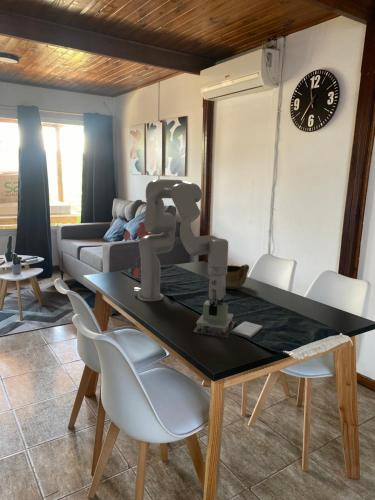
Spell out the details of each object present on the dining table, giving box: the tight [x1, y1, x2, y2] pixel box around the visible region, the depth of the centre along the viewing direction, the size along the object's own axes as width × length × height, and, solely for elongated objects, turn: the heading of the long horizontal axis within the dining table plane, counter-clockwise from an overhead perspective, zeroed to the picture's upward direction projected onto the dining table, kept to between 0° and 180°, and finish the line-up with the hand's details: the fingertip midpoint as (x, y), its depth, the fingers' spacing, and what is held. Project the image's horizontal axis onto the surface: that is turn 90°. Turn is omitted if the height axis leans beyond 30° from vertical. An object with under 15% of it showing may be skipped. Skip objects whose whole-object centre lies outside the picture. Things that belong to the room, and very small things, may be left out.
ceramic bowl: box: [225, 263, 250, 290], centre depth 204 cm, size 22×17×15 cm
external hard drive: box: [230, 321, 263, 339], centre depth 148 cm, size 2×8×12 cm
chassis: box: [192, 312, 236, 339], centre depth 150 cm, size 14×16×4 cm
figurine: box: [123, 219, 156, 279], centre depth 214 cm, size 15×26×35 cm, turn 122°
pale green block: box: [202, 300, 229, 322], centre depth 149 cm, size 9×5×7 cm, turn 72°
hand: (215, 311), depth 149 cm, fingers open, 9 cm apart
